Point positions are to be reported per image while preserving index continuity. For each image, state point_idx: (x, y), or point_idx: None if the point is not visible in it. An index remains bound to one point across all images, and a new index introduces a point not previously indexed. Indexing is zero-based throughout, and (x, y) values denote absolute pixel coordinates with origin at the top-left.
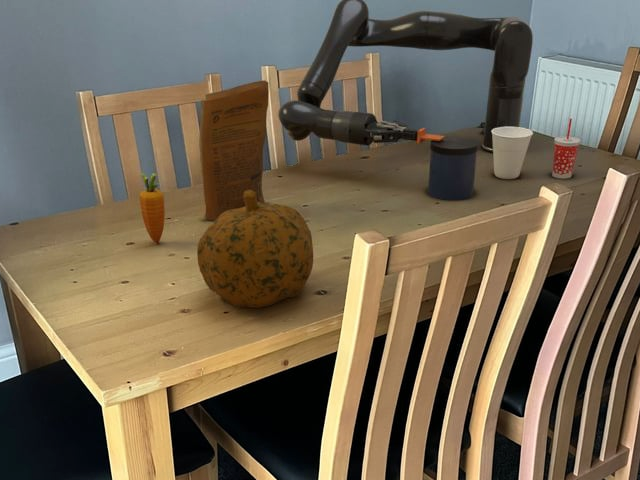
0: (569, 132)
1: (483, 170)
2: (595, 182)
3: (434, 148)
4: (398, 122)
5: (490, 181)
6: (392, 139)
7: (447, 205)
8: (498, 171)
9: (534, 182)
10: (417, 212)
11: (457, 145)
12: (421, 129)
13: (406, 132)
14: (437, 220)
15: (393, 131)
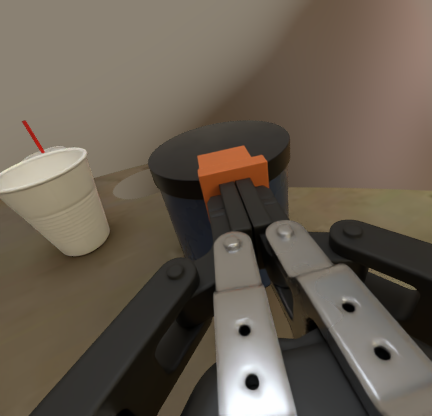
0: (38, 142)
1: (53, 284)
2: (96, 178)
3: (287, 155)
4: (66, 397)
5: (129, 242)
6: (371, 285)
7: (306, 219)
8: (101, 232)
9: (114, 206)
10: (396, 229)
11: (241, 132)
12: (233, 164)
13: (278, 216)
14: (383, 193)
15: (385, 233)
